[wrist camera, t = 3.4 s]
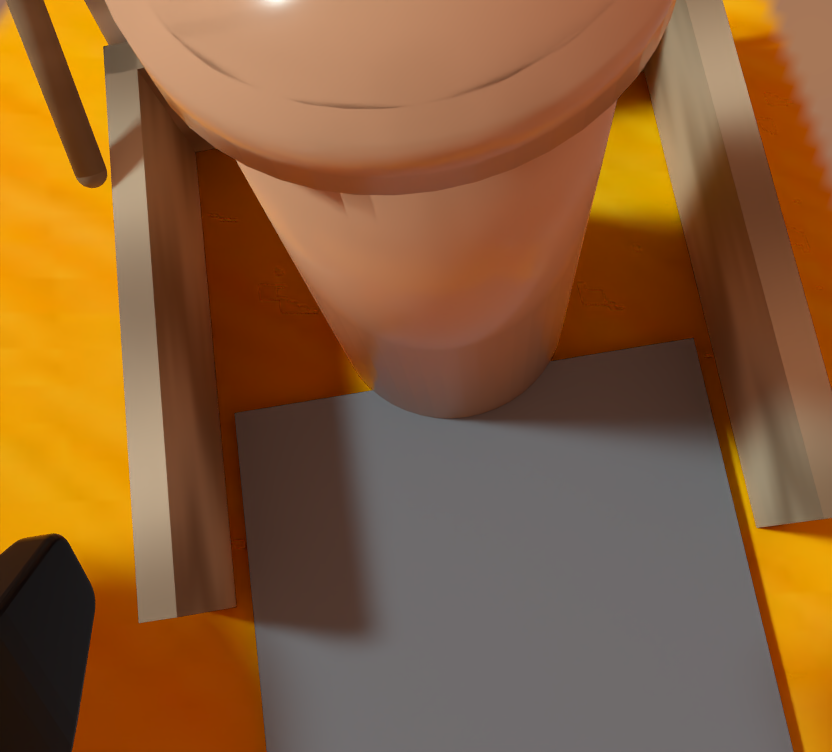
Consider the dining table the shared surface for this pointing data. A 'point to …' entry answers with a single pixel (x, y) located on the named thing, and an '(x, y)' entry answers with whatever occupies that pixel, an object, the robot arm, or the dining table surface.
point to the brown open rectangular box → (191, 324)
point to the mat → (507, 571)
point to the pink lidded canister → (414, 163)
